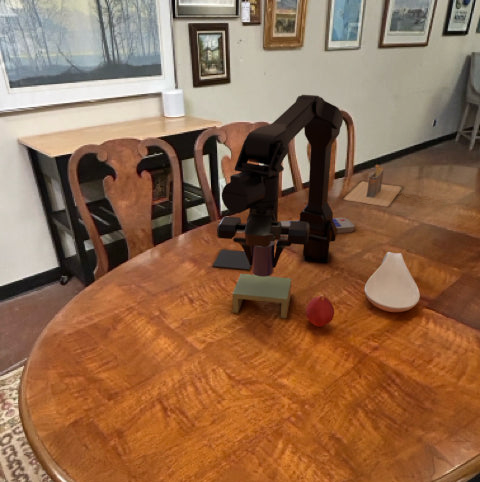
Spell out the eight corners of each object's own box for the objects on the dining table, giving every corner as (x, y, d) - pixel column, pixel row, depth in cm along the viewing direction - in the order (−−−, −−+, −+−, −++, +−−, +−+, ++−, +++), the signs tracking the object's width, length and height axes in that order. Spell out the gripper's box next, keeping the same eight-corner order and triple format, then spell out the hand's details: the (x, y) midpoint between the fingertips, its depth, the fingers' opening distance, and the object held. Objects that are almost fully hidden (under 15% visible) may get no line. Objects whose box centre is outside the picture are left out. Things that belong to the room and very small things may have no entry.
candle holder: (275, 267, 94) (276, 238, 90) (272, 277, 89) (273, 248, 86) (254, 265, 94) (254, 237, 91) (250, 275, 90) (250, 246, 87)
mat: (255, 253, 119) (255, 252, 119) (249, 270, 110) (249, 269, 110) (221, 250, 121) (221, 249, 120) (212, 267, 112) (212, 265, 112)
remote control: (280, 226, 135) (280, 220, 134) (347, 222, 137) (348, 216, 136) (285, 236, 129) (285, 230, 127) (356, 232, 131) (356, 225, 129)
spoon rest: (418, 324, 89) (424, 295, 85) (361, 315, 92) (365, 287, 89) (412, 271, 109) (418, 246, 105) (366, 265, 112) (369, 241, 108)
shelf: (290, 296, 99) (291, 278, 97) (286, 318, 91) (287, 299, 89) (241, 291, 101) (240, 273, 99) (232, 312, 94) (232, 293, 91)
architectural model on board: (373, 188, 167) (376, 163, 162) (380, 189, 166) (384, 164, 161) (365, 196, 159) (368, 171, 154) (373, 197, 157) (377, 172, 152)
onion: (302, 318, 91) (304, 287, 87) (328, 317, 92) (331, 286, 88) (308, 335, 86) (310, 303, 82) (335, 333, 87) (339, 301, 83)
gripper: (208, 208, 79) (211, 280, 86) (308, 215, 75) (302, 289, 83) (222, 190, 88) (224, 255, 96) (312, 195, 85) (306, 263, 92)
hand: (262, 265), depth 91 cm, fingers closed on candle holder, 5 cm apart
